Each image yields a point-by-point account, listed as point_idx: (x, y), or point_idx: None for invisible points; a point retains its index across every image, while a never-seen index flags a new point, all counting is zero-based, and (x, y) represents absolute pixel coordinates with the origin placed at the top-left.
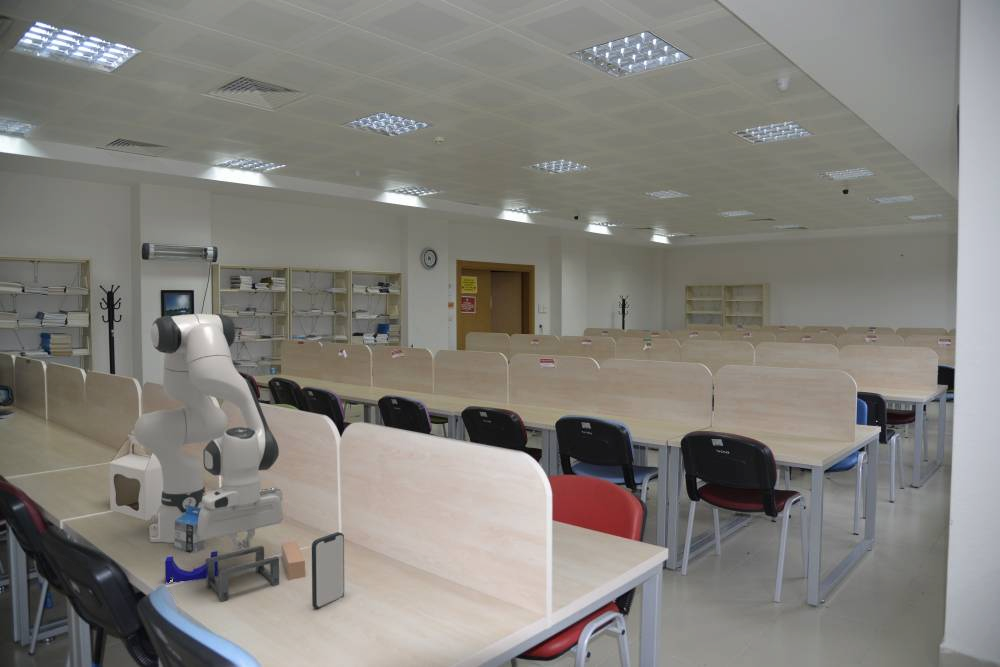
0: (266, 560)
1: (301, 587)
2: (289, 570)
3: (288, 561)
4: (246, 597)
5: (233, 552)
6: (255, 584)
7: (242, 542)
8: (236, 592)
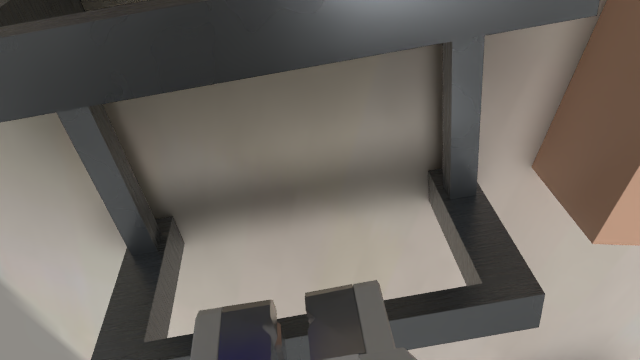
0: (447, 333)
1: (538, 254)
2: (569, 208)
3: (611, 216)
4: (276, 250)
5: (215, 9)
6: (357, 117)
7: (308, 332)
8: (232, 174)
